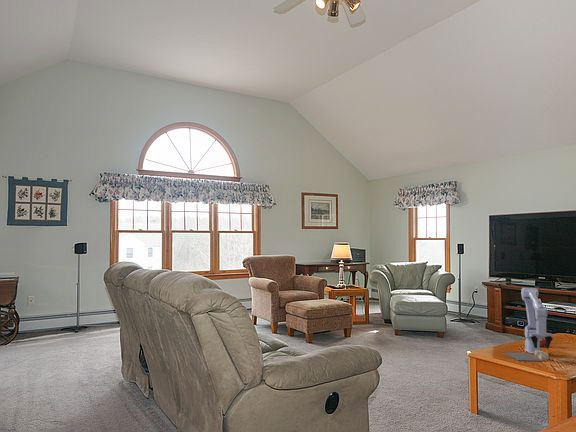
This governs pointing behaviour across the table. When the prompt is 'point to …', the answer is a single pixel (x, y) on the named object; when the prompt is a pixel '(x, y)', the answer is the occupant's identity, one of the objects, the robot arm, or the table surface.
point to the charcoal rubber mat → (523, 357)
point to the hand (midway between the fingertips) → (541, 347)
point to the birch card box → (541, 355)
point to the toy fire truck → (543, 341)
